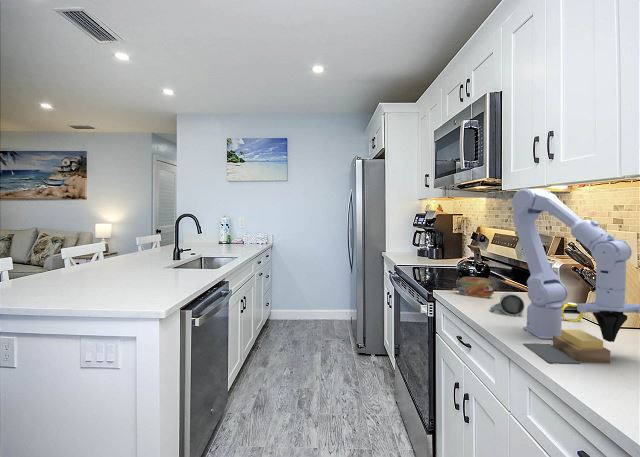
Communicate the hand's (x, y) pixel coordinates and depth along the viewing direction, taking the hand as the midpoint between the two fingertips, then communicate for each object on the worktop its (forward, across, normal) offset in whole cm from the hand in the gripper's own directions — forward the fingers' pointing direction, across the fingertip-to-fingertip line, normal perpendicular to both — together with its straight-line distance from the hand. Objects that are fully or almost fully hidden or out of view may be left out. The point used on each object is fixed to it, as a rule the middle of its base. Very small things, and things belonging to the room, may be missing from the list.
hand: (608, 340), depth 88 cm
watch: (+4, +9, +28) cm, 30 cm away
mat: (+4, -14, 0) cm, 15 cm away
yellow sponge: (0, -7, 0) cm, 7 cm away
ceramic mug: (+4, -8, +36) cm, 38 cm away
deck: (+4, -7, 0) cm, 8 cm away
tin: (+4, -10, +61) cm, 62 cm away
